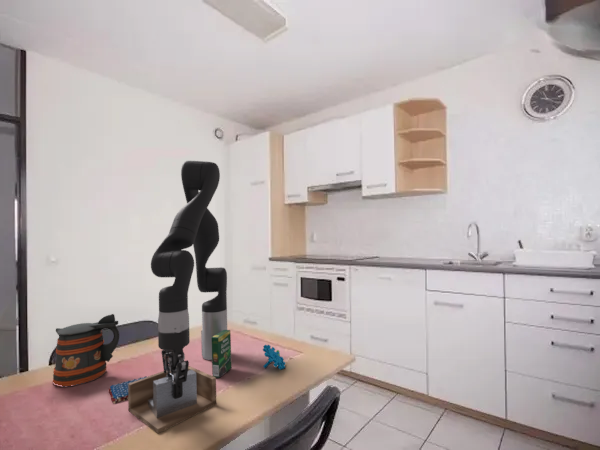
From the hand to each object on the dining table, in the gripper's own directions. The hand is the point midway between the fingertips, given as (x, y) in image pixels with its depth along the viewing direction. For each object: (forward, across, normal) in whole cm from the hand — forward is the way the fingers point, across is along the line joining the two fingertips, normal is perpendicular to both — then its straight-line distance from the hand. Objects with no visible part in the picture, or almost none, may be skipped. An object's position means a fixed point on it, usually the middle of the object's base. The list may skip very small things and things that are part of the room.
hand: (175, 394), depth 82 cm
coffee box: (+5, -14, +20) cm, 25 cm away
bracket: (+4, -3, 0) cm, 4 cm away
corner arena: (+5, -3, 0) cm, 6 cm away
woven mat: (+5, -21, -6) cm, 23 cm away
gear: (+5, -5, +35) cm, 36 cm away
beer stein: (+5, -43, -14) cm, 46 cm away
